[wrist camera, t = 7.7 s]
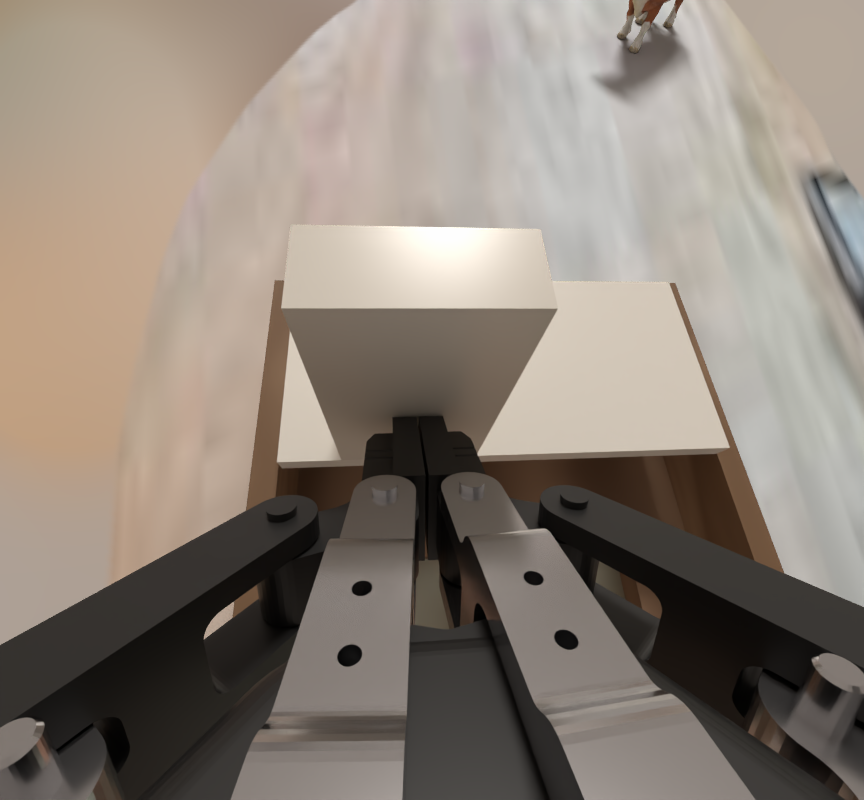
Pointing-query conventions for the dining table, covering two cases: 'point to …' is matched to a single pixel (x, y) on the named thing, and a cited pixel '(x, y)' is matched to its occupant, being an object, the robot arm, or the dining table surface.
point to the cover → (480, 350)
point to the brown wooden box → (539, 485)
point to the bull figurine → (645, 18)
